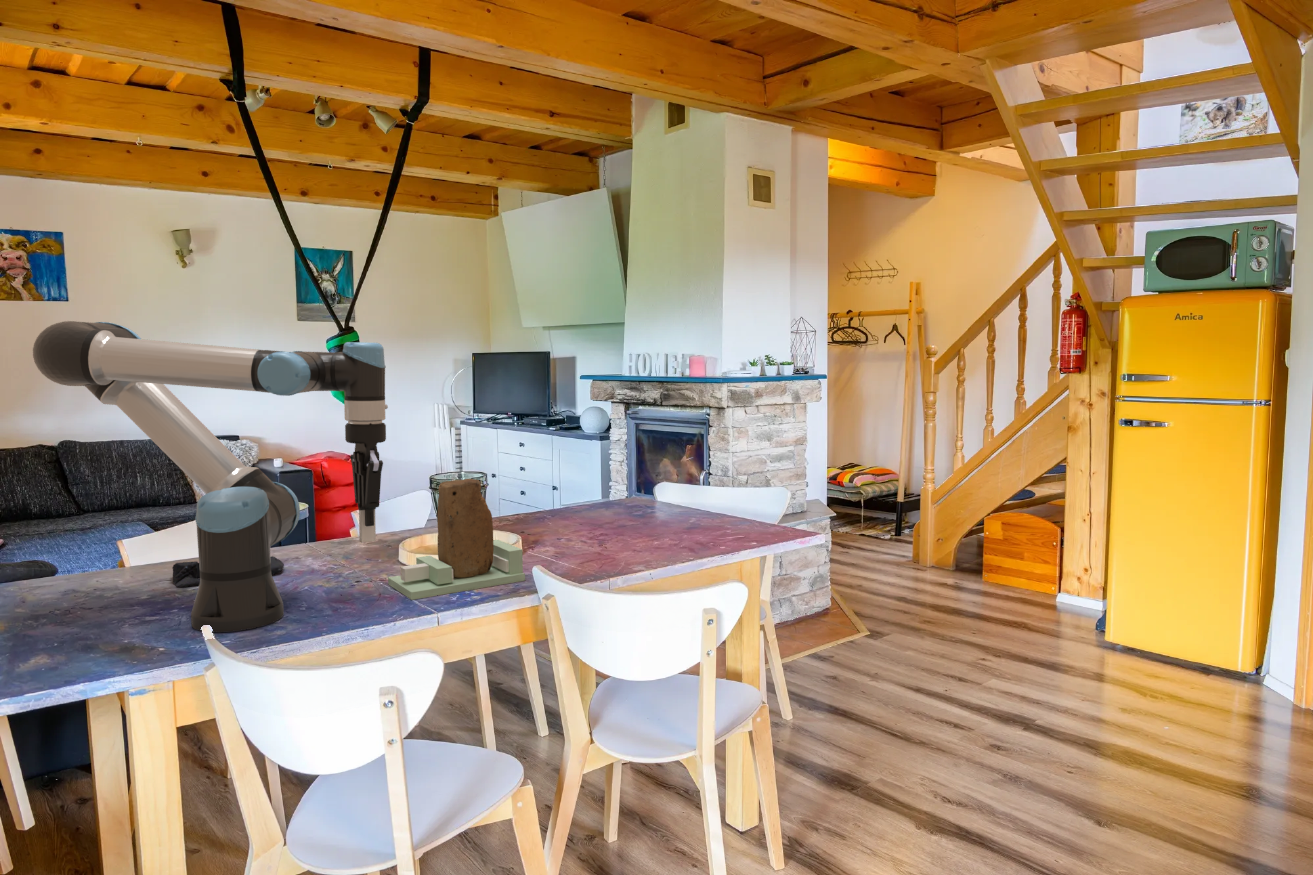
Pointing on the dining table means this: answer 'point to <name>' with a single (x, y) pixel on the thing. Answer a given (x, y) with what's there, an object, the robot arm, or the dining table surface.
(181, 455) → the robot arm
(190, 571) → the dark slate chunk
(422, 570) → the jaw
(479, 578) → the vise
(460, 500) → the block
